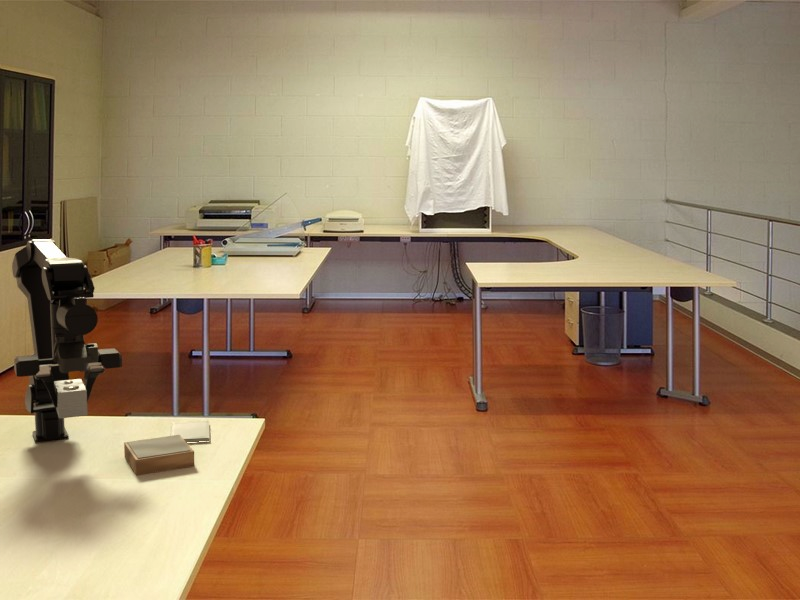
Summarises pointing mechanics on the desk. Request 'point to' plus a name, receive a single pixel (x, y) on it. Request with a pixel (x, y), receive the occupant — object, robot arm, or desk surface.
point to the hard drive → (191, 430)
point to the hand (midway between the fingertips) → (70, 405)
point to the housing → (71, 398)
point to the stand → (158, 454)
